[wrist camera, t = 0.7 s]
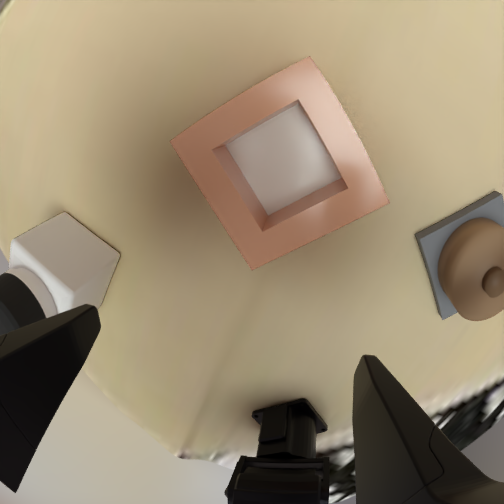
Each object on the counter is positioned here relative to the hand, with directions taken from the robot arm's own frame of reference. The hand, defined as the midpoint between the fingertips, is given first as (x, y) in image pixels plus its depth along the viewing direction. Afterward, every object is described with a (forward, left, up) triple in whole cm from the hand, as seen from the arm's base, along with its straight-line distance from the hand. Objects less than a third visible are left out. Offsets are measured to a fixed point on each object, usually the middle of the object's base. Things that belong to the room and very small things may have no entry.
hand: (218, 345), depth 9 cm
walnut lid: (-10, -13, -12) cm, 21 cm away
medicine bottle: (+5, +17, -14) cm, 22 cm away
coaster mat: (-10, -13, -13) cm, 21 cm away
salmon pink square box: (+3, -3, -13) cm, 14 cm away
